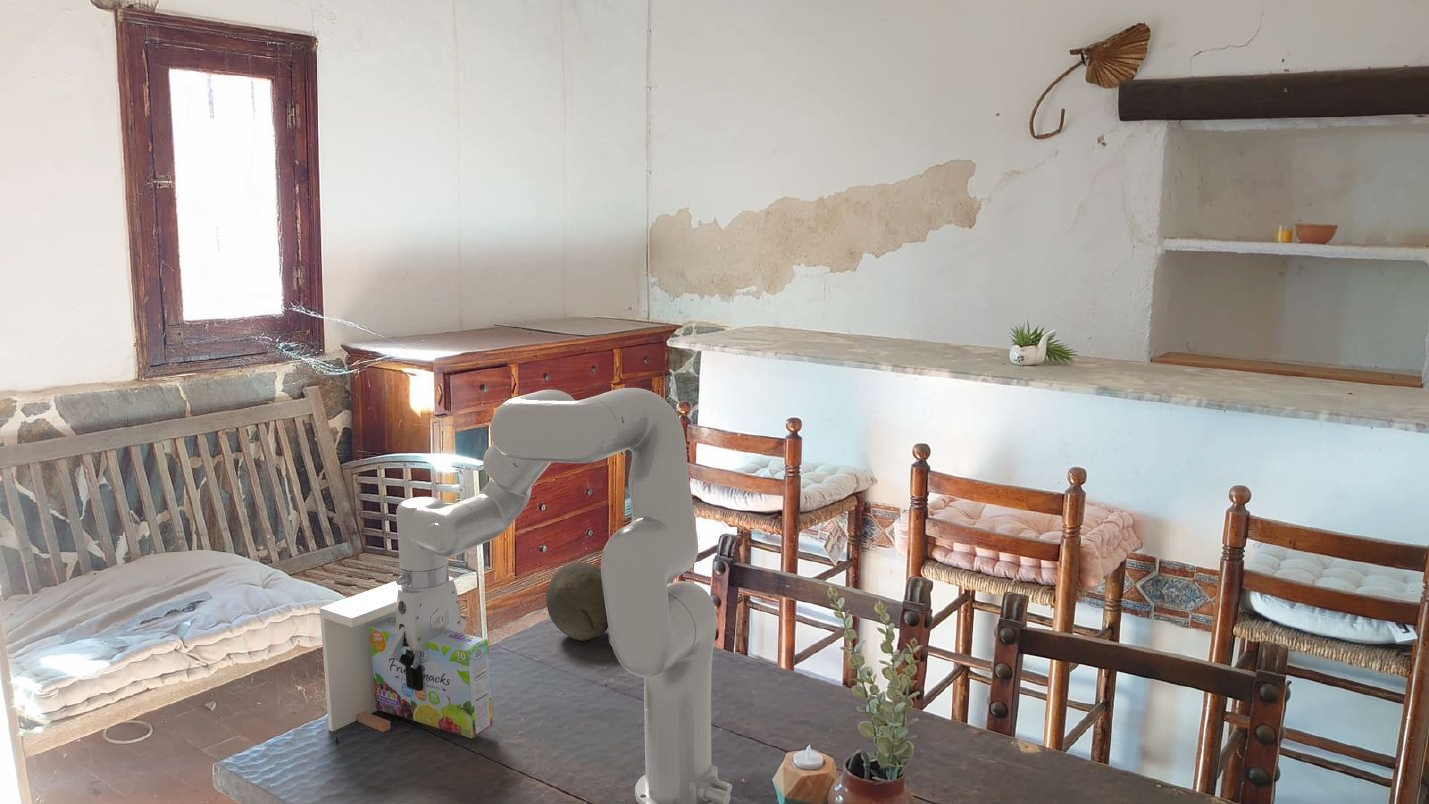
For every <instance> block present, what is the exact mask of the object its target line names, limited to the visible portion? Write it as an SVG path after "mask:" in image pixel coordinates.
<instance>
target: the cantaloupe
mask: <svg viewBox="0 0 1429 804" xmlns="http://www.w3.org/2000/svg"><path fill="white" fill-rule="evenodd" d="M545 603H546V609H547V612H548V615H549V617H550V619H551V622H552V623H553V624H554V625H555V627H556V628H557V629H558V630H559V631H560V632H561V633H562V634H564V635H565V636H567V637H569V638H571V639H574V640H576V641H582V642H583V641H591V640H593V639H596V638H598V637H600V636H602V635H604V634H605V633H606V632H607V631H608V621H607V614H606V606H605V599H604V592H603V585H602V577H601V567H600V566H597V565H596V564H594V563H591V562H571V563H568V564H565V565H564V566H562V567H561V568H558V570H557V571H556V572H554V574H553V576H552V577H551V578H550V580H549V583H548V585H547V588H546V591H545Z"/></svg>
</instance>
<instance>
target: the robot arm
mask: <svg viewBox="0 0 1429 804" xmlns="http://www.w3.org/2000/svg"><path fill="white" fill-rule="evenodd" d="M490 421H491V422H490V425H489V431H490V437H491V438H490V439H491V440H492V443H491V445H490V446H489V447H488V448H487V450H486V451H485V453H484V455H483V459H482V461H483V462H482V463H483V467H484V468H483V469H484V472H485V473H486V474H487V476H488V478H489V479H490V480H489V481H488V482H487V484H485V486H484V487H483V488H481V490H480V491H479V492H478V493H477V494H476V495H475V496H471V497H468V498H466V499H464V500H461V501H458V502H455V503H452V504H449V505H446V506H445V503H444V502H443V501H442V500H441V499H439V498H437V497H433V496H432V497H431V496H416V497H412V498H410V497H409V498H407V499H405V500H402V501H401V502H400V503H398V506H397V508H396V512H395V513H396V514H395V515H396V516H395V517H396V527H397V528H396V529H397V531H396V532H397V542H398V544H397V546H398V547H397V548H398V562H399V576H397V577H396V578H395V581H396V583H397V585H401V587H399V588H398V594H397V602H396V637H395V639H394V641H393V642H392V644H391V646H390V648H389V649H388V655H390V656H392V657H393V658H395V659H396V660H397V661H399V662H400V663H401V664H402V665H404V666H405V672H406V683H407V687H408V688H411V689H414V690H416V691H421V690H422V689H423V679H422V668H421V667H420V666H418V665H419V660H420V656H421V652H423V651H425V650H427V649H429V641H430V640H432V639H434V638H436V637H438V636H440V635H442V634H445V633H447V632H450V631H455V632H459V633H463V631H464V629H465V628H466V626H467V625H468V624H467V621H466V620H465V619H464V618H463V617H462V616H461V615H462V613H461V608H460V599H459V596H458V591H457V587H456V583H455V580H454V578H453V577H452V576H450V572H449V571H450V570H449V569H450V568H449V567H450V566H449V558H450V557H456V556H458V555H461V554H463V553H465V552H468V551H470V550H472V549H474V548H476V547H479V546H480V545H484V544H485V543H488V542H490V541H492V540H494V539H496V538H497V537H499V536H501V535H502V534H503V533H504V532H505V531H506V530H507V529H508V528H509V527H510V526H511V525H512V524H513V523H514V522H515V521H516V520H517V518H518V517H519V516H520V514H522V513H523V511H524V510H525V508H526V507H527V505H528V503H529V501H530V498H531V495H532V491H533V485H534V484H535V483H536V482H537V481H538V479H539V478H540V477H541V476H542V475H543V473H544V472H545V471H546V470H547V468H549V466H551V464H552V463H558V464H559V463H561V464H589V463H595V462H597V461H602V460H604V459H607V458H609V457H611V456H615V455H617V454H621V453H622V452H625V451H627V450H628V451H630V452H631V462H630V463H631V464H630V468H629V471H628V472H629V474H628V493H629V498H630V508H631V522H630V523H629V524H627V525H625V526H623V527H621V528H620V529H618V530H616V531H615V532H614V533H613V534H612V535H611V536H610V537H609V538H608V540H607V542H606V544H605V546H604V548H603V551H602V554H601V560H600V568H601V577H602V585H603V592H604V599H605V606H606V614H607V621H608V627H609V631H608V635H609V634H610V639H611V644H612V646H611V647H612V650H613V653H614V655H615V657H616V659H617V660H618V662H619V663H620V665H621V666H622V667H623V669H625V670H626V671H627V672H628V673H629V674H632V675H634V676H637V677H640V678H643V679H644V680H643V683H644V684H643V685H644V686H643V691H644V694H643V702H644V703H643V708H644V709H643V710H644V711H643V713H644V718H643V719H644V768H645V770H644V771H645V772H644V774H643V775H642V776H640V778H638V780H637V782H636V784H635V786H634V796H635V800H636V802H637V803H638V804H730V802H731V797H732V796H731V792H732V790H733V784H732V783H730V782H727V781H723V780H720V779H719V776H718V775H719V771H718V768H719V767H718V766H716V765H714V764H712V665H713V654H714V648H715V647H714V646H715V639H716V635H717V634H716V633H717V612H716V605H715V604H714V601H713V599H712V597H711V596H710V594H709V593H708V592H707V590H706V589H704V588H703V587H702V586H701V585H699V584H697V583H695V582H691V581H685V580H681V581H674V580H676V579H677V578H679V577H680V576H682V575H683V574H684V573H686V572H687V571H688V570H689V569H690V568H692V566H693V565H694V564H695V563H696V561H697V558H698V554H699V541H698V533H697V532H698V531H697V526H696V525H697V524H696V517H695V509H694V503H693V502H694V501H693V494H692V489H691V481H690V474H689V469H688V468H689V466H688V453H687V443H686V441H687V440H686V436H685V435H686V434H685V430H684V427H683V426H684V425H682V421H681V419H680V417H679V415H678V413H677V412H676V411H675V408H673V407H672V405H671V404H670V403H669V402H668V401H667V400H666V399H665V398H663V397H662V396H660V395H659V394H657V393H655V392H653V391H650V390H648V389H645V388H640V387H625V388H624V387H623V388H618V389H615V390H614V389H613V390H611V391H606V392H604V393H601V394H598V395H595V396H590V397H587V398H584V399H580V400H578V399H577V400H576V399H574V398H573V396H572V395H570V394H568V393H566V392H564V391H562V390H558V389H544V390H543V389H542V390H539V391H535V392H532V393H528V394H522V395H519V396H515V397H513V398H509V399H507V400H506V401H504V402H503V403H501V404H500V405H499V406H498V407H497V408H496V410H495V412H494V413H493V415H492V417H491V420H490ZM672 581H674V582H672ZM671 582H672V583H671ZM402 647H404V652H402V651H401V649H402ZM412 651H414V652H413V656H412V658H410V656H411V652H412Z"/></svg>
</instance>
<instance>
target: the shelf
mask: <svg viewBox="0 0 1429 804" xmlns="http://www.w3.org/2000/svg"><path fill="white" fill-rule="evenodd" d="M399 587H401V585H397V583H396V580H394V581H392V582H388V583H386V584H383V585H380V586H378V587H375V588H372V589H369V590H366V591H363V592H361V593H358V594H355V595H353V596H349V597H347V598H344V599H341V600H337V601H335V602H332V603H331V604H330V603H329V604H326V605H325V606H321V607H319V618H320V630H321V642H322V653H323V654H322V658H323V670H324V683H325V697H326V698H325V699H326V710H327V727H328V731H330V732H335V731H337V730H339V729H341V728H344V727H345V726H348V725H349V724H352V723H355V721H357V722H358V723H360V724H363V725H365V726H367V727H370V728H372V729H374V730H377V731H380V732H383V733H385V732H386V731H389V730H390V729H391V727H392V726H391V720H387V719H385V718H383V717H380V716H378V715H375V714H374V713H375V712H378V710H377V709H376V700H375V688H374V676H373V664H372V652H371V640H370V629H369V626H371V625H374V624H376V623H378V622H380V621H383V620H385V619H387V618H389V617H396V602H397V594H398V588H399Z"/></svg>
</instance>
